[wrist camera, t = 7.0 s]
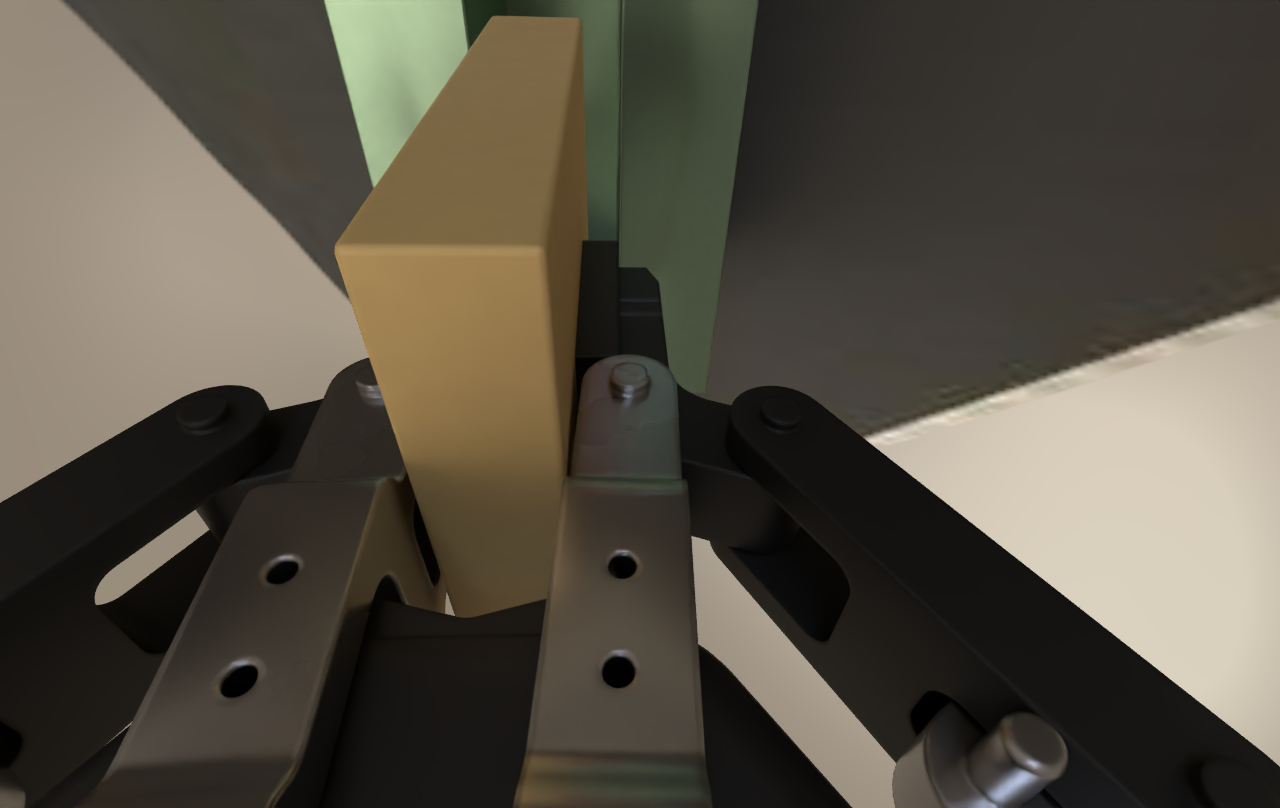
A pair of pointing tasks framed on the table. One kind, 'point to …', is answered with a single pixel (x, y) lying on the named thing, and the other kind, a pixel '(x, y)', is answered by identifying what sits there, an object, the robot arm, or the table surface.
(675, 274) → the toaster
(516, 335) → the toast
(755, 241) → the table surface
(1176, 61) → the table surface
